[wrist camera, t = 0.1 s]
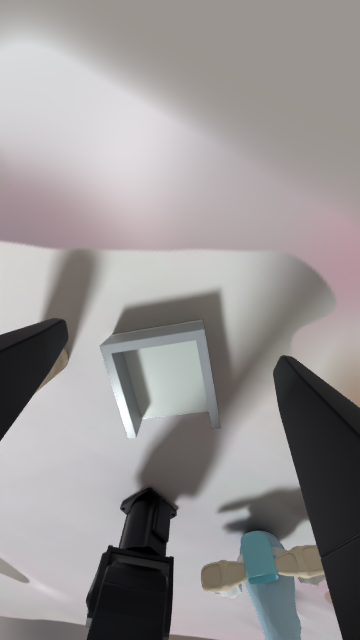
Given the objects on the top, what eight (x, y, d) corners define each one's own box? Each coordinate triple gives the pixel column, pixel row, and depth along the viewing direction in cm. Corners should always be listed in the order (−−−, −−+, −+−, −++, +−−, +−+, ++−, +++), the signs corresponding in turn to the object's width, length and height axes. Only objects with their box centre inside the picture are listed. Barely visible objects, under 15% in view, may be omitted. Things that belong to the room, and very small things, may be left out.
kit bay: (135, 416, 29) (128, 438, 25) (112, 334, 26) (99, 346, 22) (217, 407, 28) (220, 428, 24) (202, 319, 24) (204, 329, 21)
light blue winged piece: (219, 565, 36) (237, 766, 22) (197, 524, 34) (200, 720, 19) (319, 547, 34) (414, 762, 19) (303, 501, 31) (398, 708, 17)
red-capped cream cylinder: (52, 378, 28) (-65, 478, 15) (25, 353, 27) (-123, 436, 14) (75, 358, 27) (-30, 447, 14) (47, 331, 26) (-90, 400, 13)
